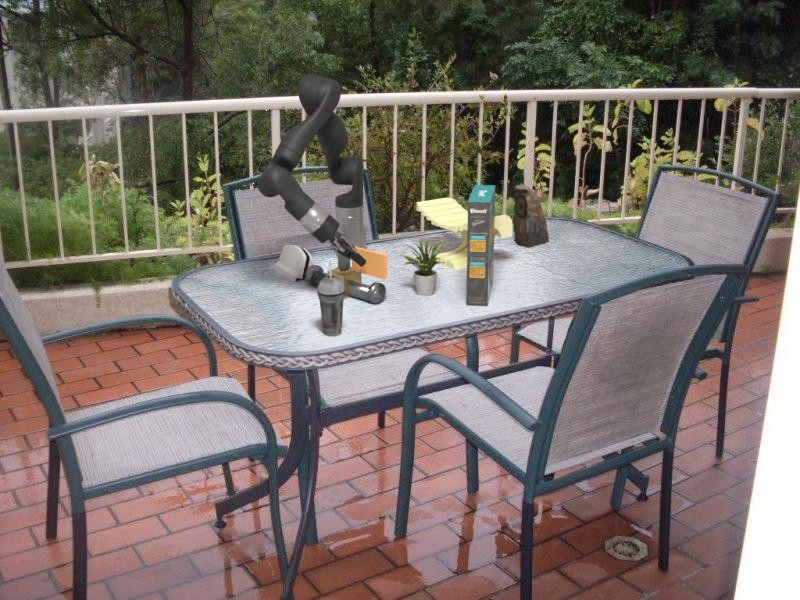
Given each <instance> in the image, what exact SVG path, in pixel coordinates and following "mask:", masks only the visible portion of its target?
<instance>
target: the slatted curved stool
mask: <svg viewBox="0 0 800 600" xmlns="http://www.w3.org/2000/svg"><path fill="white" fill-rule="evenodd" d="M416 211H417V212H421V216H423V217H426V220H427V221H431V225H433V226H435V227H439V228H441V229H445V230H448V231H450V232H453V233H456V234H457V233H460V235H461V242H460V244H459V246H457V247H456V248H454V249H452V250H448V251H446V252H442V253H438V254H437V256H436V257H435V258H440V259H437V260H436V261H438V262H444V263H445V264H444V263H439V264H441V265H443V266H445V267H448V268H449V269H452V270H460V269H465V268H466V269H467V231H468V209H465V208H463V205H462V204H460V203H458V202H457V200H456V199H454V198H451V197H442V198H435V199H430V200H423V201H417V202H416ZM496 236H497V237H498V238H500V239H506V238H511V237H513V219H512V218H511V217H510V215H508V214H502V215H496V216H495V220H494V239H496Z"/></svg>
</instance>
